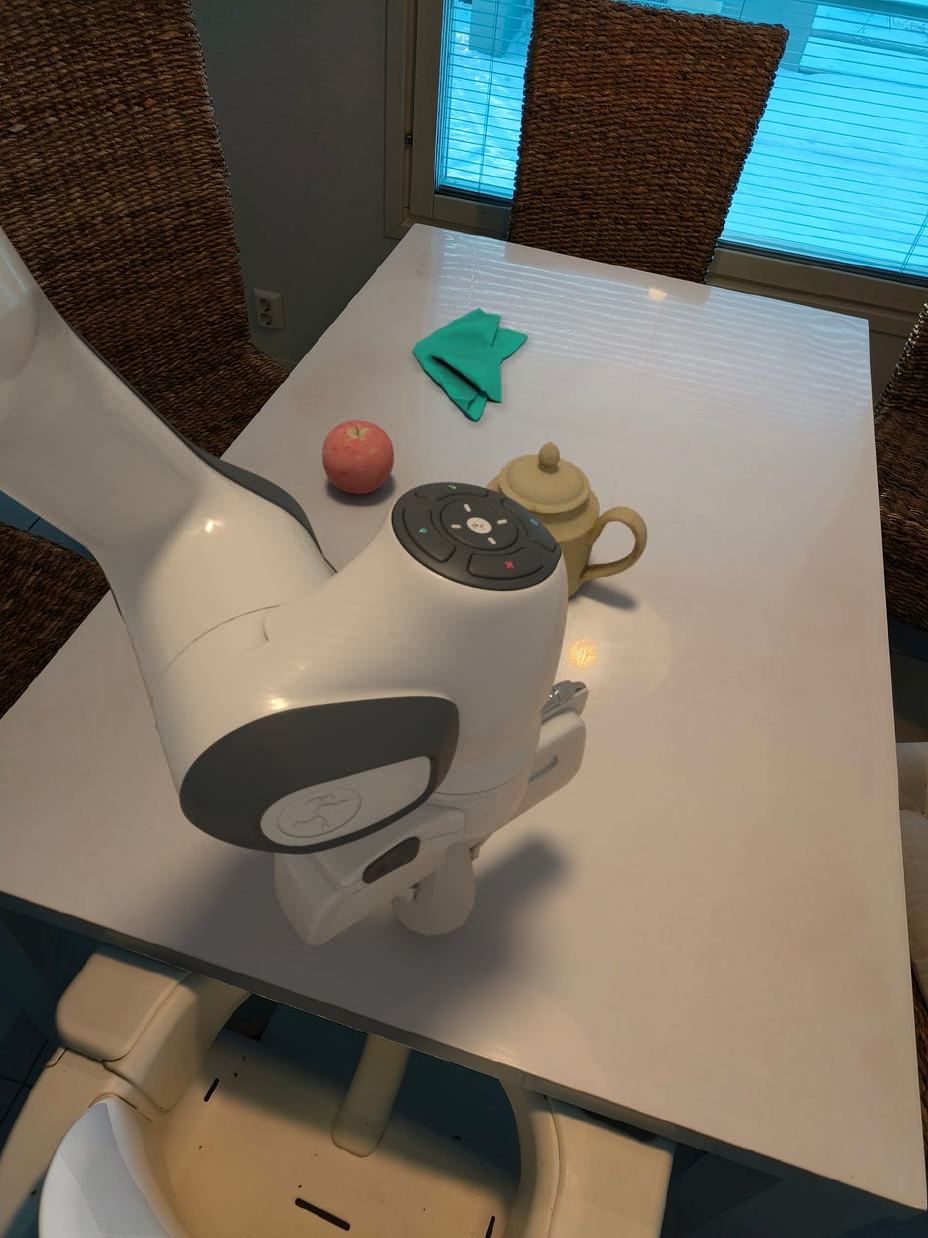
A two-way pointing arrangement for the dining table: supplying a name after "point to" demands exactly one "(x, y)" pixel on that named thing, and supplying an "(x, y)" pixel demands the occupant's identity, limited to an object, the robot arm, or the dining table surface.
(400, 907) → the salt shaker
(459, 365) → the cloth
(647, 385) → the dining table surface
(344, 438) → the apple
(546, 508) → the sugar bowl
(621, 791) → the dining table surface
